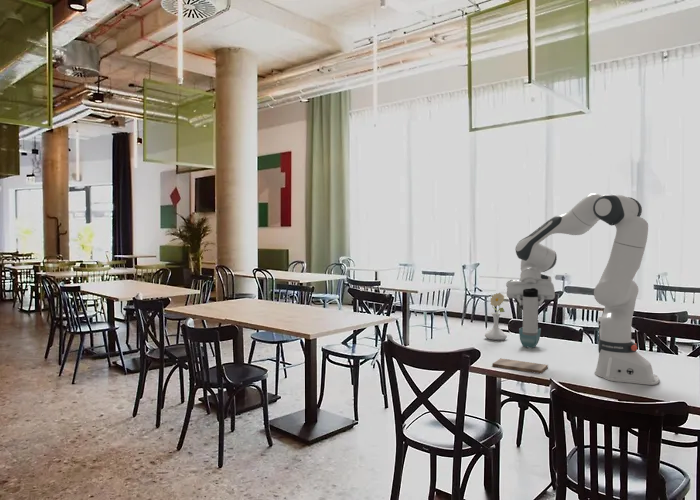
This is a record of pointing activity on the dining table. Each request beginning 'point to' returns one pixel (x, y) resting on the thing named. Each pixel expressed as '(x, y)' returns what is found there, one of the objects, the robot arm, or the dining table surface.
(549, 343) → the dining table surface
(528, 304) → the travel mug
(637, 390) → the dining table surface
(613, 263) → the robot arm
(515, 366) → the walnut board
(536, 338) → the flower pot
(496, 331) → the flower in vase
